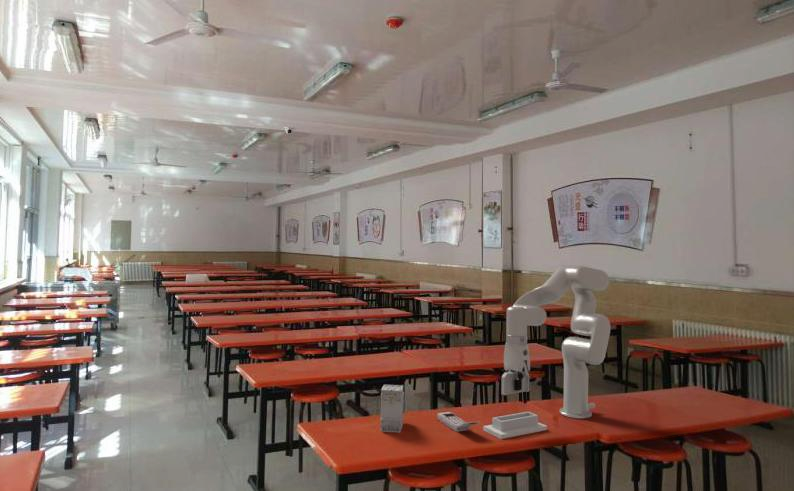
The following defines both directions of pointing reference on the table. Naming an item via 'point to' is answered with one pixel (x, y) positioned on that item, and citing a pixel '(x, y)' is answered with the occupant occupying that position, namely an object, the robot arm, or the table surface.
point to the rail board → (514, 425)
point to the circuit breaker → (392, 408)
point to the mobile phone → (454, 421)
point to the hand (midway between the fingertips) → (515, 388)
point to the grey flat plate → (509, 383)
